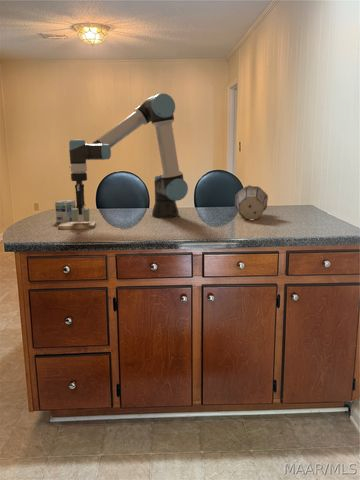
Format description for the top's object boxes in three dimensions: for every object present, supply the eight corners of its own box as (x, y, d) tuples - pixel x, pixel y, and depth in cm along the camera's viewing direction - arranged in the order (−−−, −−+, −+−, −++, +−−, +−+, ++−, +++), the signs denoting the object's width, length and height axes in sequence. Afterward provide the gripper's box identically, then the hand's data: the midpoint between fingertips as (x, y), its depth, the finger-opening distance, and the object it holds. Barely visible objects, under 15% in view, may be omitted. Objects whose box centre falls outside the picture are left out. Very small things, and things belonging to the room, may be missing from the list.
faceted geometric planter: (269, 194, 211) (265, 175, 237) (234, 195, 213) (234, 177, 240) (269, 225, 218) (265, 204, 245) (235, 226, 221) (235, 205, 248)
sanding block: (89, 219, 207) (89, 208, 206) (88, 221, 202) (88, 209, 201) (73, 220, 206) (72, 208, 205) (72, 221, 201) (71, 209, 200)
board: (95, 224, 211) (95, 221, 211) (94, 228, 200) (93, 225, 200) (61, 225, 209) (61, 222, 209) (58, 229, 198) (58, 226, 198)
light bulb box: (67, 222, 216) (66, 202, 213) (55, 222, 217) (54, 202, 214) (76, 219, 226) (75, 199, 223) (65, 219, 227) (64, 199, 225)
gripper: (73, 171, 207) (76, 217, 213) (68, 173, 190) (71, 223, 195) (88, 171, 208) (90, 216, 213) (84, 173, 191) (87, 223, 196)
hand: (81, 219), depth 204 cm, fingers closed on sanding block, 5 cm apart
